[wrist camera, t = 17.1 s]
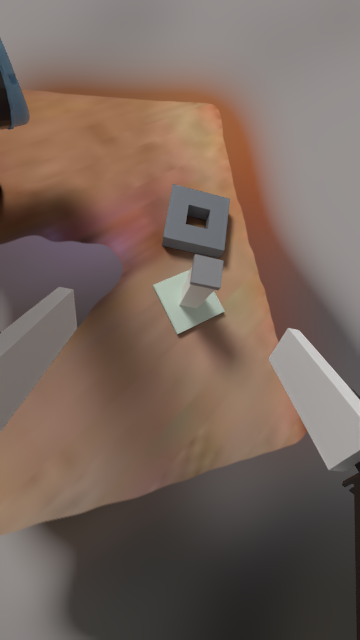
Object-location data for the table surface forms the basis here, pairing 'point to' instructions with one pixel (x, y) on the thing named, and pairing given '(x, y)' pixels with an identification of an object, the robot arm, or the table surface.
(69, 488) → the table surface
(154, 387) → the table surface
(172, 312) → the pad
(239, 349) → the table surface
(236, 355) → the table surface
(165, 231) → the grey square socket block
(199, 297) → the plug
